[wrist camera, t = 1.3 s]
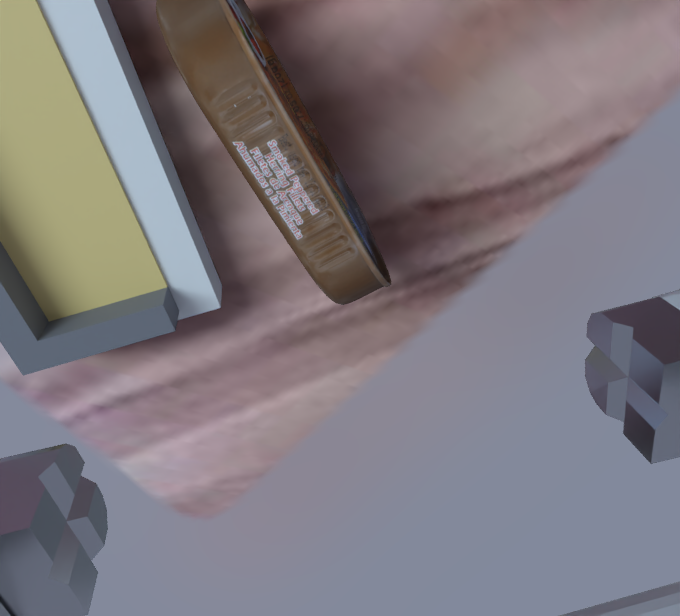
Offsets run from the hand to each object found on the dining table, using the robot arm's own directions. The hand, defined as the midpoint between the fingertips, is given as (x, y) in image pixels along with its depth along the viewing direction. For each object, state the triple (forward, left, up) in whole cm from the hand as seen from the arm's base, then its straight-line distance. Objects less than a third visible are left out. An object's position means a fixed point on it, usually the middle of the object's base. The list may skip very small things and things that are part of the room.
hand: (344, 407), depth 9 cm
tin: (0, 0, -22) cm, 22 cm away
